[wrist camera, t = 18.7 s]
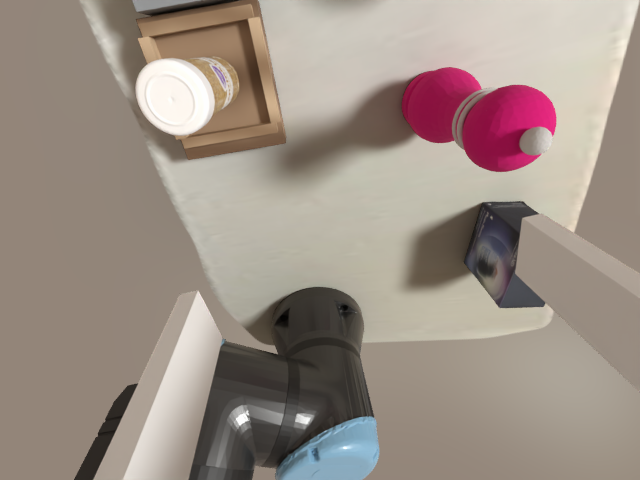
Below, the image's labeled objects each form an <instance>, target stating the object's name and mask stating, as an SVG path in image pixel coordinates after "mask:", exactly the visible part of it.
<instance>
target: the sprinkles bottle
mask: <svg viewBox="0 0 640 480" xmlns="http://www.w3.org/2000/svg"><path fill="white" fill-rule="evenodd" d="M135 92H136V98H137V102H138V105H139V107H140V109H141V111H142V113H143V114H144V116H145V117H146V118H147V120H148V121H149V122H150V123H151V124H153V125H154V126H155V127H156V128H158V129H159V130H161V131H163V132H165V133H168V134H171V135H178V136H184V135H189V134H192V133H194V132H196V131H198V130H199V129H201V128H202V127H203V126H205V125H206V124H207V123H208V122H209V120H210V119H211V117H212V116H214V115H215V114H216V113H218V112H219V111H220V110H222V109H223V108H224V107H226V106H227V105H229V104H231V103H232V102H233V101H234V100H235V99H236V97H237V94H238V92H239V80H238V76H237V73H236V71H235V70H234V68H233V67H232V66H231V65H230V64H229V63H228V62H227V61H225V60H224V59H222V58H220V57H216V56H209V57H201V58H190V59H182V60H181V59H176V58H166V59H159V60H155V61H153V62H150V63H149V64H147V65H146V66H145V67H144V68H143V69H142V70H141V71H140V73H139V75H138V77H137V80H136V86H135Z"/></svg>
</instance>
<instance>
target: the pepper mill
mask: <svg viewBox="0 0 640 480" xmlns="http://www.w3.org/2000/svg"><path fill="white" fill-rule="evenodd" d="M402 112H403V115H404V117H405V119H406V121H407V122H408V123H409V124H410V125H411V127H412V129H413V130H414V132H415V133H416V134H417V135H418V136H420V137H421V138H423V139H425V140H427V141H430V142H434V143H447V142H451V141H454V140H455V142H456V143H457V144H458V146H460V147H461V148H462V149H464V150H465V152H466V154H467V156H468V157H469V158H470V159H471V160H472V162H474V163H475V164H476V165H478V166H479V167H482V168H484V169H487V170H490V171H495V172H507V171H512V170H516V169H519V168H521V167H524V166H526V165H528V164H530V163H531V162H533V161H534V160H535V159H537V158H538V157H539V156H540V155H541V154H542V153H544V152H545V151H546V150H548V148H549V147H550V146H551V144H552V139H553V138H552V137H553V135H554V132H555V127H556V113H555V109H554V106H553V104H552V102H551V101H550V99H549V98H548V97H547V96H546V95H545V94H544V93H542V92H541V91H539V90H537V89H535V88H532V87H529V86H525V85H510V86H506V87H501V88H498V89H496V88H485V89H481V86H480V84H479V83H478V81H477V80H476V79H475V78H474V77H473V76H472V75H471V74H469V73H468V72H466V71H464V70H461V69H458V68H452V67H448V68H441V69H438V70H435V71H428V72H425V73H422V74H420V75H419V76H417V77H416V78H414V79H413V81H412V82H411V83H410V84H409V85H408V87H407V88H406V90H405V93H404V95H403V99H402Z"/></svg>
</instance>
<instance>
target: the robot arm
mask: <svg viewBox="0 0 640 480" xmlns="http://www.w3.org/2000/svg"><path fill="white" fill-rule="evenodd" d="M515 274H516V275H517V276H518V277H519V278H520V279H521V280H522V281H523V282H524V283H525V284H526V285H528V286H529V287H530V288H531V289H532V290H533V291H534V292H535V293H536V294H537V295H538V296H539V297H540V298H541V299H542V300H543V301H544V302H545V303H546V304H547V305H548V306H550V307H551V308H552V309H553V310H554V311H555V312H556V313H557V314H558V315H559V316H560V317H561V318H562V319H563V320H565V322H566V323H567V324H568V325H569V326H571V327H572V328H573V329H574V330H575V331H576V332H577V333H578V334H579V335H580V336H581V337H582V338H583V339H584V340H585V341H586V342H587V343H589V345H591V346H592V347H593V348H594V349H595V350H596V351H597V352H598V353H599V354H600V355H601V356H602V357H603V358H604V359H605V360H606V361H608V363H609V364H610V365H611V366H613V367H614V368H615V369H616V370H617V371H618V372H619V373H620V374H621V375H622V376H623V377H624V378H625V379H626V380H627V381H628V382H629V383H630V384H631V385H633V386H634V387H635V388H636V389H637V390H638V391H639V392H640V273H638V272H636V271H635V270H633V269H632V268H630V267H628V266H627V265H625V264H623V263H622V262H620V261H618V260H617V259H615V258H614V257H612V256H610V255H609V254H607V253H605V252H604V251H602V250H600V249H598V248H597V247H596V246H594V245H592V244H591V243H589V242H587V241H586V240H584V239H583V238H581V237H579V236H578V235H576V234H574V233H573V232H571V231H570V230H568V229H566V228H565V227H563V226H561V225H560V224H558V223H556V222H555V221H553V220H552V219H550V218H548V217H547V216H545V215H543V214H537V215H533V216H528V217H524V218H522V223H521V231H520V239H519V247H518V255H517V262H516V270H515ZM363 332H364V322H363V318H362V314H361V310H360V308H359V306H358V304H357V303H356V301H355V300H354V299H353V298H351V297H350V296H349V295H347V294H345V293H344V292H341V291H339V290H336V289H331V288H323V287H317V288H309V289H304V290H301V291H298V292H296V293H294V294H292V295H290V296H288V297H287V298H286V299H284V300H283V301H282V302H281V303H280V304H279V305H278V307H277V308H276V310H275V312H274V315H273V319H272V338H273V341H274V344H275V347H276V349H277V352H278V354H274V353H270V352H266V351H262V350H258V349H254V348H250V347H246V346H242V345H238V344H235V343H230V342H227V341H225V339H222V338H223V337H222V335H221V333H220V331H219V329H218V327H217V326H216V324H215V322H214V320H213V318H212V316H211V314H210V312H209V310H208V308H207V306H206V304H205V302H204V301H203V299H202V297H201V295H200V293H199V291H198V290H197V291H193V292H189V293H184V294H180V295H179V297H178V300H177V302H176V304H175V306H174V308H173V310H172V312H171V315H170V317H169V319H168V321H167V323H166V325H165V327H164V329H163V332H162V334H161V336H160V338H159V340H158V342H157V344H156V347H155V349H154V351H153V353H152V355H151V357H150V360H149V362H148V364H147V366H146V368H145V370H144V372H143V374H142V377H141V379H140V381H139V383H138V384H134V385H129V386H127V387H126V388H125V390H124V391H123V392H122V393H121V394H120V395H119V397H118V398H117V399H116V400H115V401H114V403H113V405H112V407H111V409H110V411H109V413H108V415H107V417H106V419H105V420H106V421H105V422H104V423H103V424H102V426H101V428H100V430H99V432H98V437H96V438H95V440H94V442H93V444H92V446H91V448H90V450H89V452H88V454H87V456H86V457H85V460H84V461H83V463H82V465H81V467H80V469H79V471H78V473H77V475H76V477H75V479H74V480H252V477H253V471H254V468H255V466H261V467H269V468H275V469H276V473H275V478H276V480H362V479H363V478H365V477H366V476H367V475H368V474H369V473H370V472H371V471H372V470H373V469H374V467H375V465H376V463H377V461H378V458H379V445H378V438H377V431H376V420H375V419H374V415H373V410H372V406H371V402H370V397H369V393H368V389H367V385H366V380H365V377H364V372H363V368H362V363H361V359H360V350H361V344H362V338H363Z"/></svg>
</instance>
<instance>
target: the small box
mask: <svg viewBox="0 0 640 480" xmlns="http://www.w3.org/2000/svg"><path fill="white" fill-rule="evenodd" d="M537 214H539V213H537V212H536V211H534V210H533V209H532V208H530V207H529V206H527V205H526V204H525V203H524V202H523V201H522V202H521V201H519V202H485V203H482V206H481V209H480V213H479V216H478V219H477V222H476V225H475V229H474V232H473V235H472V238H471V241H470V245H469V248H468V251H467V254H466V257H465V261H464V263H465V264H466V265H467V267H468V268H469V269H470V271H471V272H472V273H473V274H474V276H475V277H476V278H477V279H478V281H479V282H480V283H481V285H482V286H483V287H484V288H485V290H486V291H487V292H488V294H489V295H490V296H491V297H492V299H493V300H494V301H495V303H496V304H497V305H498V307H499V308H522V307H544V305H545V302H544V301H543V300H542V299H541V298H540V297H539V296H538V295H537V294H536V293H535V292H534V291H533V290H532V289H531V288H530V287H529V286H528V285H526V284H525V283H524V282H523V281H522V280H521V279H520V278H519V277H518V276H517V275H516V274H515V270H516V262H517V255H518V247H519V239H520V231H521V223H522V218H524V217H528V216H533V215H537Z"/></svg>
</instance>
